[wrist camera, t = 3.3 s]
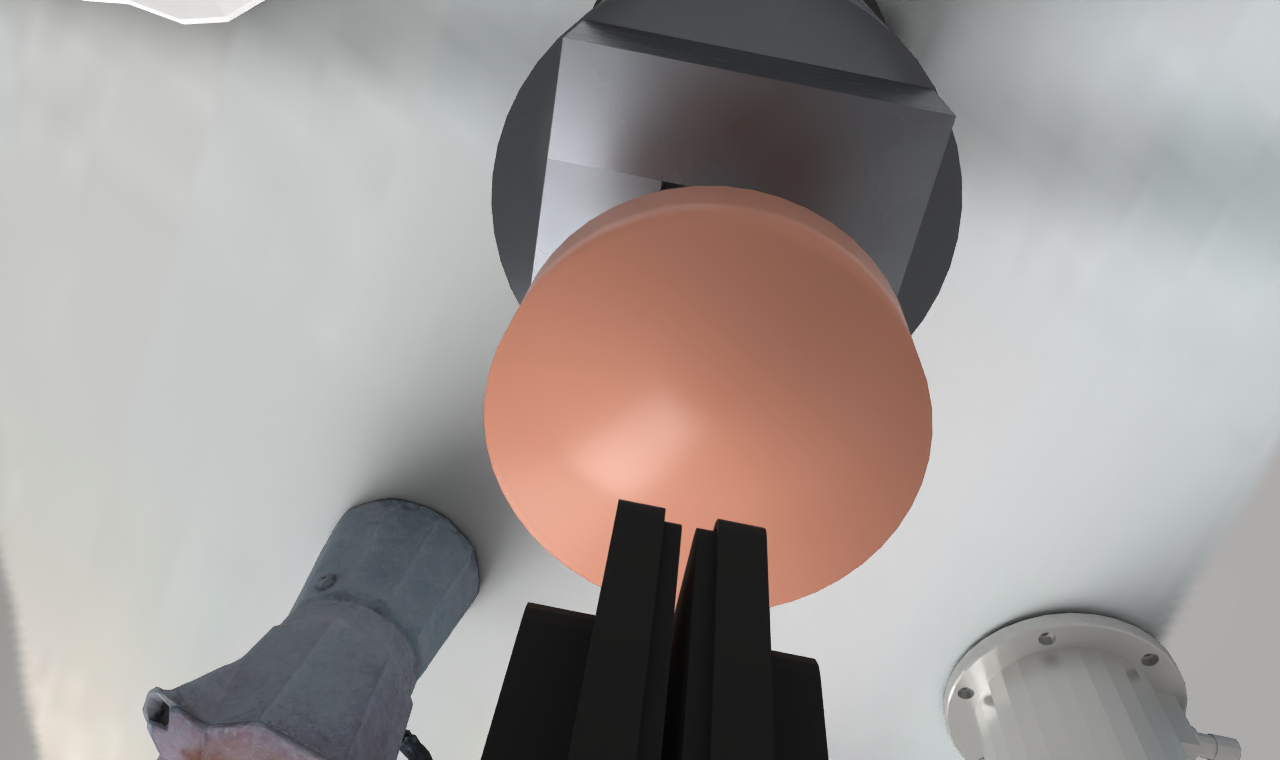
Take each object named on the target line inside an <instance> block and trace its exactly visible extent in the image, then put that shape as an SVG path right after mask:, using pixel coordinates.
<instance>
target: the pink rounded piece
mask: <svg viewBox="0 0 1280 760" xmlns="http://www.w3.org/2000/svg"><path fill="white" fill-rule="evenodd" d="M484 427H485V436H486V445H487V449H488V453H489V456H490V460H491V464H492V468H493V471H494V473H495V476H496V478H497V480H498V483H499V485H500V488H501V490H502V492H503V494H504V496H505V497H506V499H507V501H508V503H509V504H510V506H511V508H512V509H513V511H514V513H515V514H516V516H517V517H518V518H519V520H520V521H521V522H522V523H523V525H524V526H525V527H526V529H527V530H528V531H529V533H530V534H531V535H532V536H533V537H534V538H535V539H536V540H537V541H538V542H539V543H540V544H541V545H542V546H543V547H544V548H545V549H546V550H547V551H548V552H549V553H550V554H552V555H553V556H554V557H555V558H557V559H558V560H559V561H560V562H562V563H563V564H564V565H565V566H566V567H568V568H569V569H571V570H572V571H574V572H576V573H577V574H579V575H580V576H582V577H583V578H585V579H587V580H588V581H590V582H592V583H594V584H596V585H598V586H600V587H601V586H602V581H603V576H604V571H605V566H606V561H607V556H608V551H609V546H610V541H611V536H612V531H613V526H614V521H615V516H616V511H617V506H618V501H619V499H622V500H627V501H632V502H637V503H642V504H647V505H652V506H657V507H662V508H665V509H666V512H665V521H666V522H671V523H676V524H681V525H682V534H681V545H680V556H679V567H678V578H677V589H676V600H675V609H676V605H677V601H678V597H679V593H680V589H681V585H682V581H683V577H684V573H685V569H686V565H687V561H688V557H689V553H690V549H691V545H692V541H693V537H694V533H695V530H696V528H701V529H706V530H711V531H713V529H714V525H715V523H716V520H717V519H723V520H728V521H733V522H738V523H743V524H748V525H753V526H758V527H763V528H765V529H766V533H767V553H768V581H769V607H773V606H776V605H780V604H784V603H788V602H791V601H794V600H797V599H799V598H802V597H805V596H807V595H810V594H812V593H815V592H817V591H819V590H821V589H823V588H825V587H827V586H829V585H831V584H832V583H834V582H836V581H838V580H840V579H841V578H843V577H844V576H846V575H847V574H849V573H850V572H852V571H853V570H855V569H856V568H857V567H859V566H860V565H862V564H863V563H864V562H865V561H866V560H867V559H868V558H870V557H871V556H872V555H873V554H874V553H875V552H876V551H877V550H879V549H880V548H881V547H882V545H883V544H884V543H885V542H886V541H887V540H888V538H889V537H890V536H891V535H892V534H893V533H894V532H895V530H896V529H897V528H898V526H899V525H900V523H901V522H902V520H903V519H904V517H905V516H906V514H907V513H908V511H909V510H910V508H911V506H912V504H913V502H914V500H915V498H916V495H917V493H918V491H919V489H920V487H921V485H922V481H923V478H924V475H925V471H926V468H927V464H928V461H929V455H930V448H931V440H932V406H931V401H930V395H929V390H928V384H927V380H926V377H925V374H924V371H923V368H922V366H921V363H920V360H919V357H918V354H917V351H916V348H915V346H914V343H913V340H912V337H911V334H910V332H909V329H908V326H907V323H906V320H905V317H904V315H903V312H902V309H901V306H900V303H899V301H898V299H897V297H896V295H895V294H894V292H893V290H892V288H891V286H890V284H889V282H888V280H887V279H886V277H885V276H884V275H883V273H882V272H881V270H880V269H879V268H878V266H877V265H876V264H875V262H874V261H873V259H872V258H871V257H870V256H869V255H868V254H867V253H866V252H865V251H864V250H863V249H862V248H861V247H860V246H859V245H858V244H857V243H856V242H855V241H854V240H853V239H852V238H851V237H849V236H848V235H847V234H846V233H844V232H843V231H842V230H840V229H839V228H838V227H837V226H835V225H834V224H833V223H831V222H830V221H828V220H826V219H825V218H823V217H821V216H819V215H818V214H816V213H814V212H813V211H811V210H809V209H807V208H805V207H803V206H800V205H798V204H795V203H793V202H791V201H788V200H786V199H783V198H781V197H777V196H774V195H770V194H766V193H762V192H759V191H755V190H750V189H742V188H735V187H727V186H690V187H682V188H674V189H666V190H663V191H659V192H655V193H651V194H647V195H643V196H639V197H637V198H634V199H632V200H629V201H627V202H624V203H622V204H620V205H617V206H615V207H613V208H611V209H609V210H607V211H606V212H604V213H602V214H600V215H599V216H597V217H595V218H593V219H591V220H590V221H589V222H587V223H586V224H585V225H583V226H582V227H581V228H579V229H578V230H577V231H575V232H574V233H573V234H572V235H570V236H569V237H568V238H567V239H566V240H565V241H564V242H563V243H562V244H561V245H560V246H559V247H558V248H557V249H556V250H555V251H554V252H553V253H552V254H551V256H550V257H549V258H548V260H547V261H546V262H545V264H544V265H543V266H542V268H541V269H540V270H539V272H538V273H537V275H536V276H535V278H534V280H533V282H532V284H531V286H530V287H529V289H528V291H527V293H526V295H525V297H524V299H523V301H522V302H521V304H520V306H519V308H518V310H517V312H516V314H515V315H514V317H513V319H512V321H511V323H510V325H509V327H508V329H507V330H506V332H505V334H504V336H503V338H502V340H501V342H500V344H499V345H498V348H497V351H496V354H495V356H494V359H493V362H492V365H491V368H490V371H489V376H488V381H487V386H486V392H485V402H484Z"/></svg>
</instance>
